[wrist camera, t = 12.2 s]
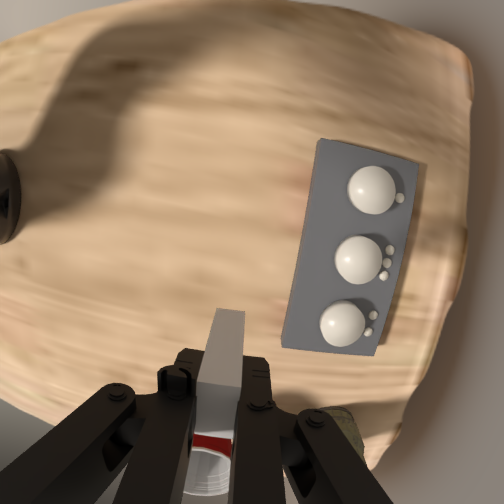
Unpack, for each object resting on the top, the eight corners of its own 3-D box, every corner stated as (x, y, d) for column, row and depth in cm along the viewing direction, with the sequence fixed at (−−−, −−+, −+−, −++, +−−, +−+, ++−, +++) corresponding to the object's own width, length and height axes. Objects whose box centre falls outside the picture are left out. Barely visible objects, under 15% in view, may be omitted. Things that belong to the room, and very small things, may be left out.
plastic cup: (252, 439, 41) (249, 497, 29) (186, 441, 41) (170, 496, 30) (239, 387, 39) (232, 449, 27) (166, 391, 39) (140, 448, 28)
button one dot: (338, 207, 33) (347, 209, 29) (345, 164, 32) (355, 160, 28) (378, 215, 33) (391, 218, 29) (384, 174, 32) (398, 172, 28)
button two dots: (312, 329, 36) (317, 344, 32) (321, 291, 35) (328, 303, 31) (349, 333, 36) (358, 348, 32) (359, 297, 35) (370, 308, 31)
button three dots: (325, 271, 35) (333, 280, 31) (334, 228, 34) (343, 233, 30) (364, 277, 35) (376, 287, 31) (374, 236, 34) (386, 241, 30)
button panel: (280, 338, 37) (282, 348, 34) (317, 141, 32) (321, 137, 30) (367, 347, 37) (374, 357, 34) (409, 165, 32) (420, 163, 30)
